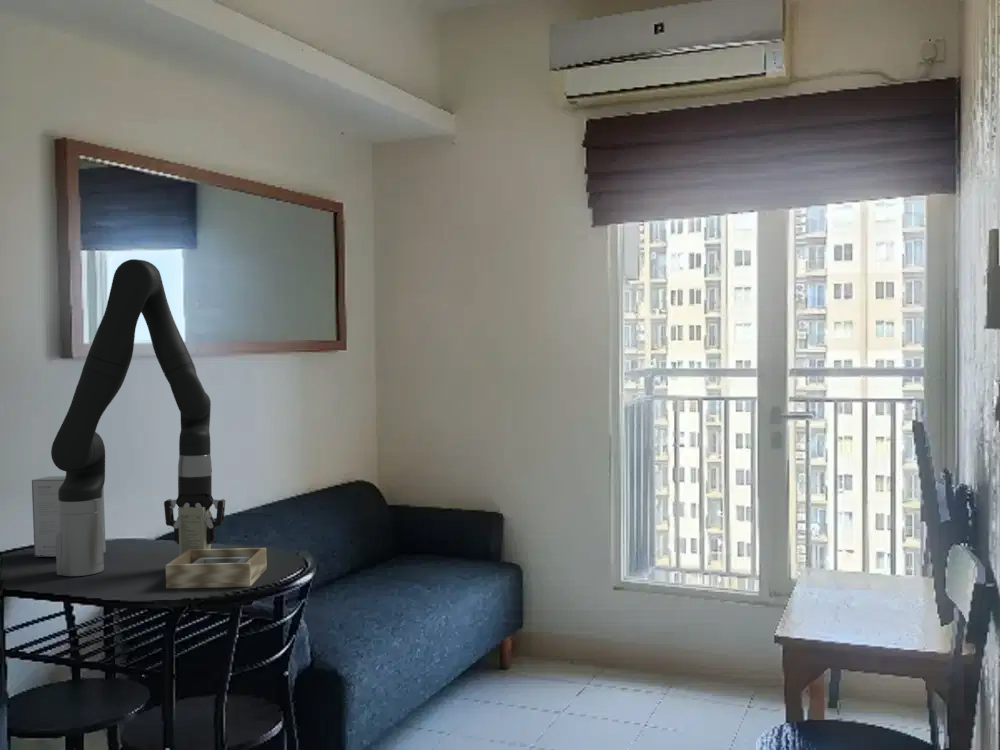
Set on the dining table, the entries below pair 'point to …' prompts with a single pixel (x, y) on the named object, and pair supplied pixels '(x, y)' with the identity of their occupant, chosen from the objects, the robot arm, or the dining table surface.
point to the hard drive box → (50, 514)
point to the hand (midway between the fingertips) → (194, 543)
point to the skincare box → (192, 529)
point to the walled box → (216, 568)
